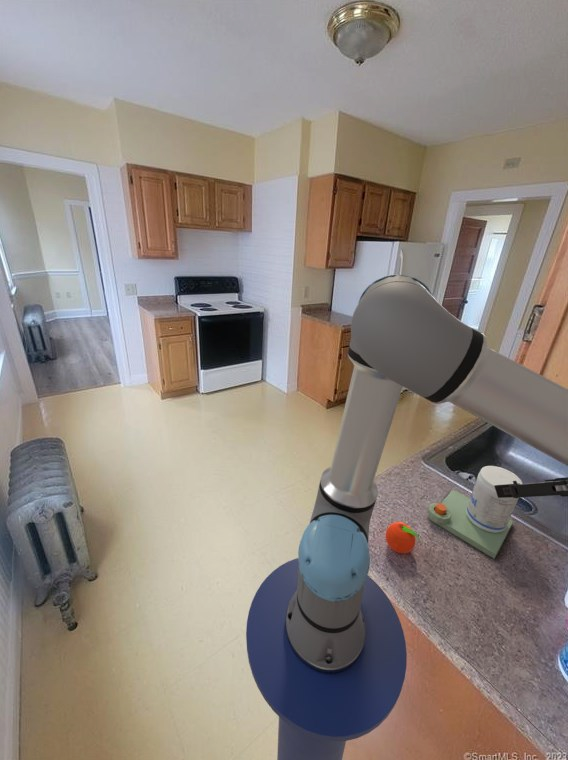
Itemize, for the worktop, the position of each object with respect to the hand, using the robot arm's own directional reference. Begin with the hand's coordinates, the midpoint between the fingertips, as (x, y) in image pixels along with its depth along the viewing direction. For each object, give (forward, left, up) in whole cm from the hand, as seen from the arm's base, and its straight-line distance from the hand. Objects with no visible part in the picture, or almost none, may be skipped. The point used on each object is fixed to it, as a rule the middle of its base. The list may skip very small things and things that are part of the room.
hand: (522, 488), depth 75 cm
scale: (-8, +2, -18) cm, 20 cm away
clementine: (-17, -20, -18) cm, 32 cm away
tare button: (-14, -4, -15) cm, 21 cm away
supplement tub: (-5, +4, -17) cm, 18 cm away
